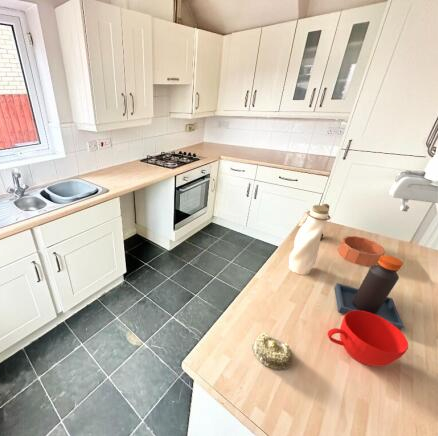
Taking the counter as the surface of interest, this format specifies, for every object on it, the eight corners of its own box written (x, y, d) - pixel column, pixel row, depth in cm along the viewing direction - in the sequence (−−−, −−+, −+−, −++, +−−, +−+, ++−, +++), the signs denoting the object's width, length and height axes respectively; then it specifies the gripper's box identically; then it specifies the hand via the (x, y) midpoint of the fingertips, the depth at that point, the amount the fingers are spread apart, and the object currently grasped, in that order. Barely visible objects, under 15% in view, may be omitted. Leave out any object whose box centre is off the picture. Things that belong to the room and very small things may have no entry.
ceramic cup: (309, 329, 75) (319, 307, 70) (368, 334, 73) (383, 311, 69) (332, 372, 64) (347, 349, 59) (403, 379, 62) (423, 356, 57)
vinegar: (378, 306, 82) (408, 259, 72) (375, 318, 78) (406, 270, 68) (354, 295, 86) (378, 250, 76) (349, 306, 82) (375, 259, 72)
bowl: (374, 252, 109) (380, 241, 106) (381, 270, 98) (388, 258, 95) (336, 243, 115) (341, 233, 112) (340, 260, 104) (345, 248, 101)
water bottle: (279, 262, 103) (297, 203, 90) (294, 258, 106) (314, 199, 93) (300, 278, 95) (323, 215, 82) (316, 272, 98) (341, 211, 84)
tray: (388, 303, 83) (392, 298, 82) (400, 332, 74) (404, 326, 73) (334, 288, 90) (336, 282, 89) (338, 312, 81) (341, 307, 79)
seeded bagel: (289, 379, 63) (294, 368, 60) (249, 360, 68) (252, 349, 65) (292, 346, 70) (297, 335, 67) (255, 331, 75) (258, 320, 72)
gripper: (403, 172, 77) (384, 211, 84) (499, 181, 68) (470, 223, 75) (397, 167, 82) (379, 204, 89) (486, 174, 73) (459, 215, 80)
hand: (421, 213), depth 82 cm, fingers open, 8 cm apart
